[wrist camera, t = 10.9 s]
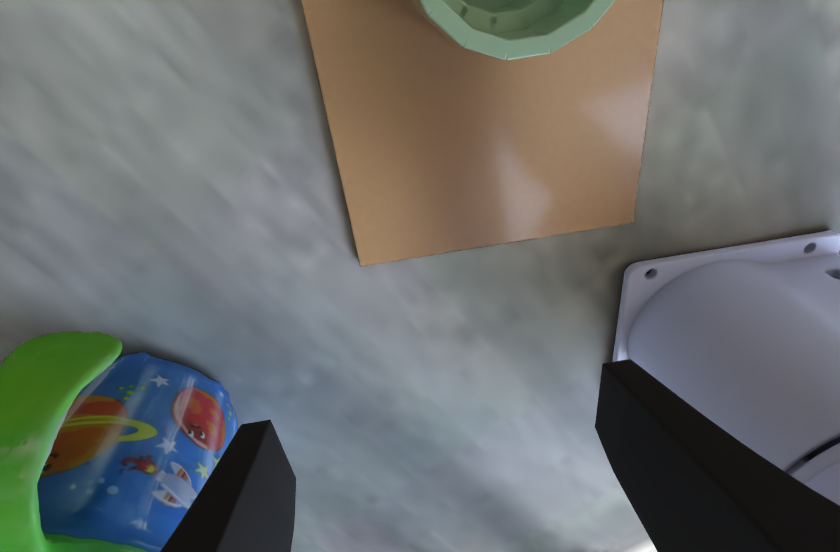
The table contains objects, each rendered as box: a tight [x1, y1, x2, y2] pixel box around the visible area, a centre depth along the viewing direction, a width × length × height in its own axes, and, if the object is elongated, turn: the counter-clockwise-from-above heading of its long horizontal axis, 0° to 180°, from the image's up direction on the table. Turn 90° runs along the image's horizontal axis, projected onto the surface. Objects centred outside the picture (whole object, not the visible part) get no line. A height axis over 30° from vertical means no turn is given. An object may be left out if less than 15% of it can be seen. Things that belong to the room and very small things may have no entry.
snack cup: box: [0, 332, 238, 552], centre depth 17 cm, size 16×10×10 cm
